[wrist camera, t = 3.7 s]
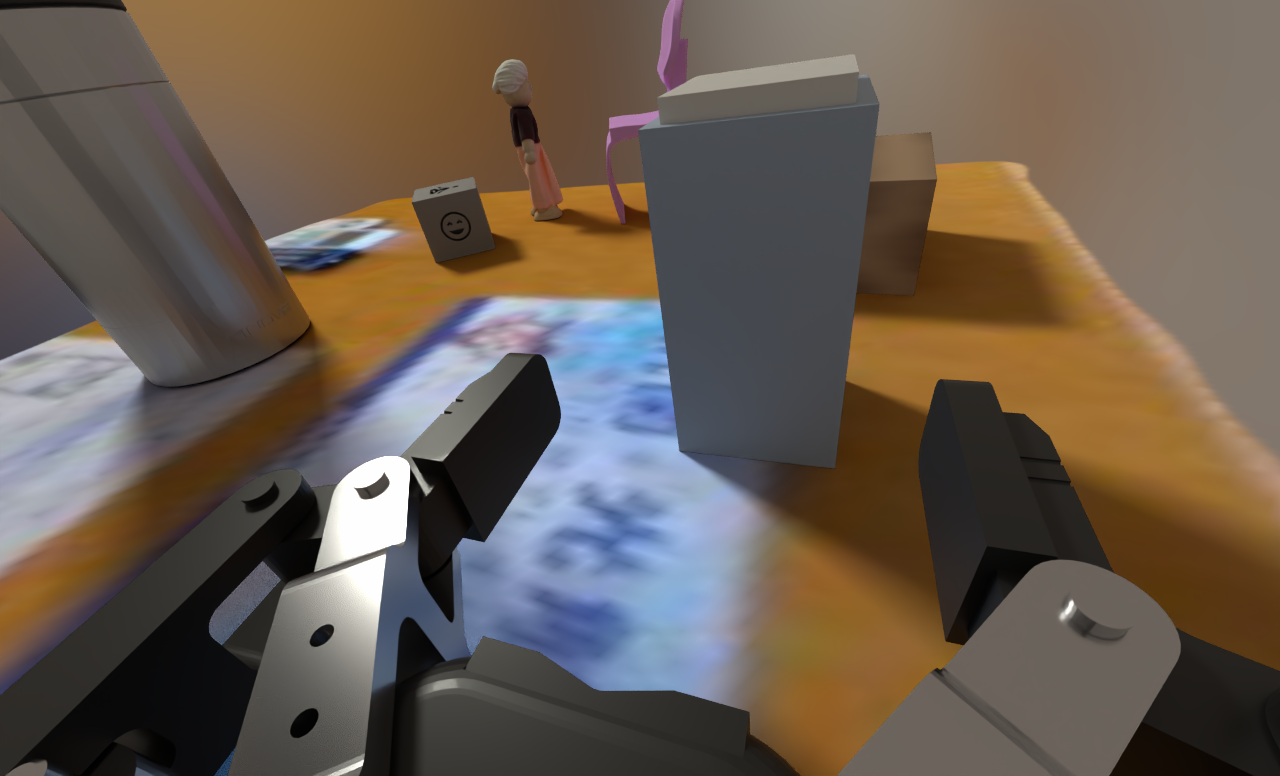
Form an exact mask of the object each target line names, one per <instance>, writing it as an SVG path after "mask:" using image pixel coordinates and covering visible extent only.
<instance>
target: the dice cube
mask: <svg viewBox="0 0 1280 776" xmlns="http://www.w3.org/2000/svg"><path fill="white" fill-rule="evenodd" d="M412 204H413V207H414V209H415V212H416V214H417V217H418V219H419V222H420V224H421V227H422V229H423V232H424V234H425V237H426V239H427V242H428V244H429V247H430V249H431V252H432V254H433V257H434V259H435V262H436V263H438V262H442V261H446V260H450V259H454V258H458V257H462V256H467V255H471V254H475V253H479V252H483V251H487V250H491V249H495V248H496V247H495V244H494V240H493V237H492V233H491V230H490V227H489V224H488V221H487V218H486V214H485V211H484V208H483V205H482V202H481V199H480V196H479V193H478V190H477V187H476V183H475V180H474V178H473V177H471V178H467V179H462V180H458V181H453V182H449V183H444V184H439V185H435V186H430V187H426V188H421V189H417V190H415V192H414V196H413V199H412Z"/></svg>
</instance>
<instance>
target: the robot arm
mask: <svg viewBox="0 0 1280 776" xmlns="http://www.w3.org/2000/svg"><path fill="white" fill-rule="evenodd" d="M126 10H127V9H126V7H125V6H124V4H123V2H122V1H121V0H0V210H1V211H2V212H3V213H4V214H5V216H6V217H7V218H8V219H9V220H10V221H11V222H12V224H13V225H14V226H15V227H16V228H17V229H18V230H19V232H20V233H21V234H22V235H23V236H24V237H25V238H26V240H27V241H28V242H29V243H30V244H31V245H32V246H33V248H34V249H35V250H36V251H37V252H38V253H39V254H40V255H41V256H42V258H43V259H44V260H45V261H46V262H47V264H48V265H49V266H50V267H51V268H52V269H53V270H54V272H55V273H56V274H57V275H58V276H59V277H60V278H61V280H62V281H63V282H64V283H65V284H66V285H67V286H68V288H69V289H70V290H71V291H72V292H73V293H74V294H75V296H76V297H77V298H78V299H79V300H80V301H81V302H82V304H83V305H84V306H85V307H86V308H87V309H88V310H89V312H90V313H91V314H92V315H93V316H94V317H95V319H96V320H97V321H98V322H99V323H100V325H101V326H102V327H103V328H104V329H105V331H106V332H107V333H108V334H109V335H110V336H111V337H112V339H113V340H114V341H115V342H116V343H117V344H118V345H119V347H120V348H121V349H122V350H123V351H124V352H125V353H126V355H127V356H128V357H129V358H130V359H131V360H132V361H133V363H134V364H135V365H136V366H137V367H138V368H139V369H140V371H141V372H142V373H143V374H144V375H145V376H146V377H147V379H148V380H149V381H150V382H151V383H153V384H155V385H157V386H165V387H171V386H183V385H189V384H195V383H199V382H203V381H207V380H211V379H215V378H218V377H221V376H224V375H227V374H230V373H233V372H236V371H238V370H241V369H243V368H246V367H248V366H251V365H253V364H255V363H257V362H259V361H261V360H263V359H265V358H268V357H270V356H271V355H273V354H275V353H277V352H278V351H280V350H282V349H284V348H285V347H287V346H288V345H289V344H291V343H292V342H294V341H295V340H296V339H297V338H299V337H300V336H301V335H302V334H303V333H304V332H305V331H306V329H307V328H308V327H309V324H310V319H309V316H308V315H307V313H306V311H305V310H304V308H303V306H302V305H301V303H300V301H299V299H298V298H297V296H296V294H295V293H294V291H293V289H292V288H291V286H290V284H289V283H288V281H287V279H286V278H285V276H284V274H283V272H282V271H281V269H280V267H279V265H278V263H277V262H276V260H275V258H274V257H273V255H272V253H271V252H270V250H269V248H268V247H267V245H266V243H265V242H264V240H263V238H262V237H261V235H260V233H259V231H258V230H257V228H256V226H255V225H254V223H253V221H252V220H251V218H250V216H249V215H248V213H247V211H246V209H245V208H244V206H243V205H242V203H241V201H240V200H239V198H238V196H237V194H236V193H235V191H234V189H233V188H232V186H231V184H230V183H229V181H228V179H227V177H226V176H225V174H224V172H223V171H222V169H221V167H220V166H219V164H218V162H217V161H216V159H215V157H214V155H213V154H212V152H211V151H210V149H209V147H208V145H207V144H206V142H205V140H204V139H203V137H202V135H201V134H200V132H199V130H198V129H197V127H196V125H195V124H194V122H193V120H192V118H191V117H190V115H189V113H188V112H187V110H186V108H185V107H184V105H183V103H182V101H181V100H180V98H179V96H178V95H177V93H176V91H175V90H174V88H173V86H172V85H171V83H169V80H168V78H167V77H166V75H165V73H164V72H163V70H162V68H161V67H160V65H159V63H158V62H157V60H156V58H155V56H154V55H153V53H152V51H151V50H150V48H149V47H148V45H147V43H146V42H145V40H144V38H143V36H142V35H141V33H140V31H139V29H138V28H137V26H136V25H135V23H134V21H133V19H132V18H131V16H130V14H129V13H127V12H126ZM560 419H561V410H560V405H559V401H558V398H557V395H556V391H555V388H554V385H553V381H552V378H551V375H550V371H549V368H548V364H547V362H546V360H545V358H544V357H543V356H542V355H540V354H523V353H509V354H507V355H506V356H505V357H504V358H503V359H502V360H501V361H500V362H499V363H498V364H497V365H496V366H495V367H494V368H493V369H492V371H491V372H489V373H487V374H486V375H484V376H482V377H481V378H479V379H478V380H476V381H474V382H473V383H471V384H470V385H469V386H468V387H467V388H466V389H465V390H464V391H463V392H462V393H461V394H460V395H459V396H458V397H457V398H456V402H452V403H451V404H450V405H449V406H448V407H447V409H446V410H445V411H444V414H441V415H440V416H439V417H438V418H437V419H436V420H435V421H434V422H433V423H432V424H431V425H430V426H429V427H428V428H427V429H426V430H425V431H424V432H423V434H422V435H421V436H420V437H419V438H418V439H417V440H416V441H415V442H414V443H413V444H412V445H411V446H410V447H409V448H408V449H407V450H406V451H405V452H404V453H403V454H402V455H401V456H400V457H382V458H378V459H375V460H372V461H369V462H367V463H365V464H363V465H361V466H359V467H357V468H356V469H354V470H353V471H351V472H350V473H349V474H348V475H346V476H345V477H344V478H343V479H342V480H341V481H340V483H339V484H336V485H328V486H320V487H312V488H311V487H310V486H309V485H308V483H307V482H306V481H305V479H304V478H303V477H302V475H301V474H300V473H299V472H298V471H296V470H293V469H281V470H276V471H272V472H269V473H266V474H264V475H261V476H259V477H257V478H255V479H253V480H252V481H250V482H248V483H247V484H245V485H244V486H242V487H241V488H240V489H238V490H237V491H236V492H235V493H233V494H232V495H231V496H230V497H229V498H228V499H227V500H225V501H224V502H223V503H222V504H221V505H220V506H218V507H217V508H216V509H215V510H214V511H213V512H212V513H210V514H209V515H208V516H207V517H206V518H205V519H203V520H202V521H201V522H200V523H199V524H198V525H196V526H195V527H194V528H193V529H192V530H191V531H190V532H188V533H187V534H186V535H185V536H184V537H183V538H181V539H180V540H179V541H178V542H177V543H176V544H175V545H173V546H172V547H171V548H170V549H169V550H168V551H166V552H165V553H164V554H163V555H162V556H161V557H160V558H158V559H157V560H156V561H155V562H154V563H153V564H151V565H150V566H149V567H148V568H147V569H146V570H144V571H143V572H142V573H141V574H140V575H139V576H138V577H136V578H135V579H134V580H133V581H132V582H131V583H129V584H128V585H127V586H126V587H125V588H124V589H123V590H121V591H120V592H119V593H118V594H117V595H116V596H114V597H113V598H112V599H111V600H110V601H109V602H107V603H106V604H105V605H104V606H103V607H102V608H101V609H99V610H98V611H97V612H96V613H95V614H94V615H92V616H91V617H90V618H89V619H88V620H87V621H86V622H84V623H83V624H82V625H81V626H80V627H79V628H77V629H76V630H75V631H74V632H73V633H72V634H71V635H69V636H68V637H67V638H66V639H65V640H64V641H62V642H61V643H60V644H59V645H58V646H57V647H55V648H54V649H53V650H52V651H51V652H50V653H49V654H47V655H46V656H45V657H44V658H43V659H42V660H40V661H39V662H38V663H37V664H36V665H35V666H34V667H32V668H31V669H30V670H29V671H28V672H27V673H25V674H24V675H23V676H22V677H21V678H20V679H18V680H17V681H16V682H15V683H14V684H13V685H12V686H10V687H9V688H8V689H7V690H6V691H5V692H3V693H2V694H1V695H0V776H214V775H215V773H216V772H217V771H218V769H219V768H220V767H221V765H222V764H223V763H224V762H225V760H226V759H227V758H228V756H229V755H230V754H231V752H232V751H233V750H234V748H235V747H236V749H235V752H234V755H233V759H232V762H231V766H230V769H229V772H228V776H800V775H799V774H798V773H797V772H796V770H795V769H794V768H793V767H792V766H791V765H790V764H789V763H788V762H787V761H786V760H785V759H784V758H782V757H781V756H780V755H779V754H777V753H776V752H775V751H774V750H773V749H771V748H770V747H769V746H768V745H766V744H765V743H763V742H762V741H760V740H759V739H757V738H755V737H754V736H752V735H751V734H750V714H749V712H748V711H744V710H740V709H737V708H733V707H730V706H726V705H723V704H719V703H716V702H712V701H709V700H705V699H702V698H698V697H695V696H691V695H688V694H684V693H681V692H677V691H599V690H596V689H593V688H591V687H590V686H588V685H587V684H585V683H584V682H582V681H581V680H579V679H578V678H576V677H575V676H573V675H572V674H571V673H569V672H568V671H566V670H565V669H563V668H562V667H560V666H559V665H557V664H556V663H554V662H553V661H552V660H550V659H549V658H547V657H546V656H544V655H543V654H541V653H540V652H537V651H533V650H530V649H526V648H523V647H519V646H516V645H512V644H509V643H505V642H502V641H498V640H495V639H491V638H487V637H484V636H483V637H482V639H481V641H480V643H479V645H478V646H477V648H476V650H475V652H474V653H473V655H472V656H471V654H470V651H469V649H468V646H467V643H466V639H465V633H464V620H463V600H462V579H461V559H460V553H459V551H458V549H457V548H456V547H457V545H458V544H459V542H460V541H461V540H462V538H467V539H472V540H476V541H481V542H485V541H486V539H487V538H488V536H489V535H490V533H491V531H492V530H493V528H494V527H495V525H496V524H497V522H498V521H499V519H500V518H501V516H502V515H503V513H504V512H505V510H506V509H507V507H508V506H509V504H510V503H511V501H512V499H513V498H514V496H515V495H516V493H517V492H518V490H519V489H520V487H521V486H522V484H523V483H524V481H525V480H526V478H527V477H528V475H529V474H530V472H531V470H532V469H533V467H534V466H535V464H536V463H537V461H538V460H539V458H540V457H541V455H542V454H543V452H544V451H545V449H546V448H547V446H548V445H549V443H550V441H551V440H552V438H553V437H554V435H555V434H556V432H557V430H558V428H559V424H560ZM1060 462H1061V460H1060V458H1059V456H1058V453H1057V451H1056V449H1055V447H1054V445H1053V443H1052V441H1051V438H1050V436H1049V435H1048V434H1047V433H1045V432H1044V431H1043V430H1042V429H1041V428H1040V427H1039V426H1038V425H1036V424H1035V423H1034V422H1033V421H1032V420H1031V419H1030V418H1029V417H1027V416H1026V415H1025V414H1019V413H1006V412H1002V410H1001V407H1000V404H999V402H998V399H997V396H996V394H995V391H994V389H993V386H992V385H991V383H989V382H978V381H961V380H944V379H940V380H939V381H938V382H937V384H936V387H935V390H934V394H933V398H932V401H931V405H930V409H929V413H928V417H927V421H926V425H925V428H924V432H923V436H922V440H921V444H920V451H919V478H920V485H921V491H922V497H923V503H924V510H925V516H926V522H927V529H928V535H929V541H930V547H931V554H932V560H933V566H934V572H935V579H936V585H937V591H938V597H939V604H940V610H941V616H942V623H943V629H944V635H945V641H946V642H951V643H956V644H960V645H964V646H963V647H962V648H961V649H960V650H959V652H958V653H957V654H956V655H955V656H954V657H953V658H952V660H951V661H950V662H949V663H948V664H947V665H946V666H945V667H944V668H942V669H941V670H939V669H938V668H937V669H934V670H933V671H932V672H930V673H929V674H928V675H927V676H926V677H925V678H924V679H923V680H922V681H921V682H920V683H919V684H918V685H917V686H916V687H915V688H914V690H913V691H912V692H911V693H910V694H909V695H908V696H907V697H906V699H905V700H904V701H903V702H902V703H901V704H900V705H899V706H898V708H897V709H896V710H895V711H894V712H893V713H892V714H891V715H890V717H889V718H888V719H887V720H886V721H885V722H884V723H883V724H882V726H881V727H880V728H879V729H878V730H877V731H876V732H875V733H874V735H873V736H872V737H871V738H870V739H869V740H868V741H867V742H866V744H865V745H864V746H863V747H862V748H861V749H860V750H859V751H858V753H857V754H856V755H855V756H854V757H853V758H852V759H851V760H850V761H849V763H848V764H847V765H846V766H845V767H844V768H843V769H842V770H841V772H840V773H839V774H838V775H837V776H1280V671H1278V670H1275V669H1273V668H1270V667H1268V666H1265V665H1263V664H1260V663H1258V662H1255V661H1253V660H1250V659H1247V658H1245V657H1242V656H1240V655H1237V654H1235V653H1232V652H1230V651H1227V650H1225V649H1222V648H1220V647H1217V646H1214V645H1212V644H1209V643H1207V642H1205V641H1202V640H1200V639H1198V638H1195V637H1193V636H1191V635H1189V634H1187V633H1185V632H1183V631H1181V630H1179V629H1177V628H1175V626H1174V624H1173V622H1172V621H1171V619H1170V618H1169V616H1168V615H1167V613H1166V612H1165V611H1164V610H1163V609H1162V608H1161V607H1160V606H1159V604H1158V603H1157V602H1156V601H1154V600H1153V599H1152V598H1151V597H1150V596H1149V595H1148V594H1147V593H1145V592H1144V591H1143V590H1141V589H1140V588H1139V587H1137V586H1136V585H1134V584H1133V583H1131V582H1129V581H1128V580H1126V579H1124V578H1123V577H1121V576H1119V575H1117V574H1115V573H1114V572H1113V570H1112V568H1111V566H1110V564H1109V562H1108V560H1107V558H1106V556H1105V553H1104V551H1103V549H1102V547H1101V545H1100V543H1099V541H1098V539H1097V536H1096V534H1095V532H1094V530H1093V528H1092V526H1091V524H1090V521H1089V519H1088V517H1087V515H1086V513H1085V511H1084V509H1083V507H1082V504H1081V502H1080V500H1079V498H1078V496H1077V494H1076V492H1075V490H1074V487H1071V486H1070V482H1071V481H1070V479H1069V477H1068V475H1067V473H1066V470H1065V468H1064V466H1063V465H1060ZM262 561H264V562H265V564H266V565H267V566H268V567H269V568H270V569H271V570H272V571H273V572H274V573H275V574H276V575H277V576H278V577H279V578H280V579H281V581H280V582H279V583H278V584H277V585H276V586H275V587H274V589H273V590H272V591H271V592H270V593H269V594H268V595H267V596H266V597H265V599H264V600H263V601H262V602H261V603H260V604H259V605H258V606H257V607H256V609H255V610H254V611H253V612H252V613H251V614H250V615H249V616H248V617H247V619H246V620H245V621H244V622H243V623H242V624H241V625H240V626H239V627H238V629H237V630H236V631H235V632H234V633H233V634H232V635H231V636H230V637H229V639H228V640H227V641H226V642H225V643H224V644H223V645H220V644H219V643H218V642H217V641H215V640H214V639H213V638H212V637H211V635H210V634H209V622H210V619H211V617H212V615H213V613H214V611H215V610H216V609H217V607H218V606H219V605H220V604H221V603H222V602H223V601H224V600H225V599H226V598H227V597H228V596H229V595H230V594H231V593H232V592H233V591H234V590H235V589H236V588H237V586H238V585H239V584H240V583H241V582H242V581H243V580H244V579H245V578H246V577H247V576H248V575H249V574H250V573H251V572H252V571H253V570H254V569H255V568H256V567H257V566H258V565H259V564H260V563H261V562H262Z"/></svg>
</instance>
